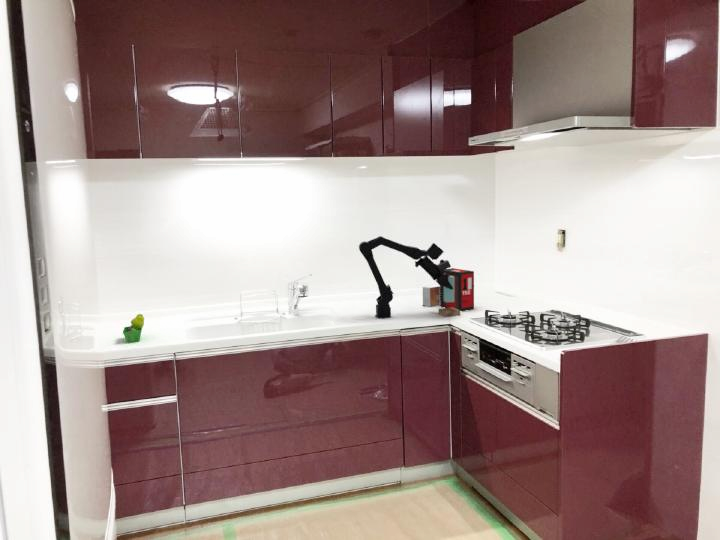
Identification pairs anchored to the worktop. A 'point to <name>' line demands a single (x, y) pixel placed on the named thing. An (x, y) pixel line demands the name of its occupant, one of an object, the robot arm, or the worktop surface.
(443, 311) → the walnut slab
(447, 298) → the teal block
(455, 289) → the cleaning product box
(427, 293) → the small box
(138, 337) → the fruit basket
